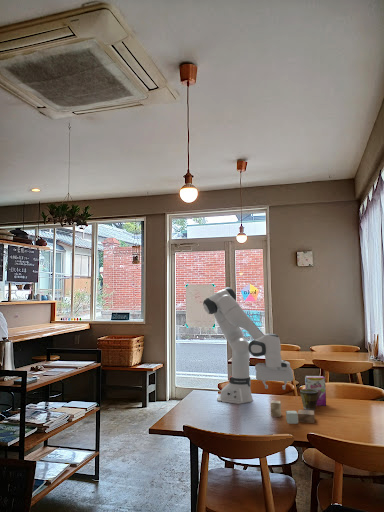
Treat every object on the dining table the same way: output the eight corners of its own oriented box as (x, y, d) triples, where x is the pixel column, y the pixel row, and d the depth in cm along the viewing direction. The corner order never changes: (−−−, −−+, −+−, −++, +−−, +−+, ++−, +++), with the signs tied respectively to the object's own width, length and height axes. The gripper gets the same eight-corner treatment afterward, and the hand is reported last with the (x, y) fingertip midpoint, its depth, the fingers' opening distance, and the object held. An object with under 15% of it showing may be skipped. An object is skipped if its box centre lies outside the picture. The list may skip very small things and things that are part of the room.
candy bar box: (307, 405, 226) (306, 377, 228) (305, 403, 231) (304, 375, 233) (326, 406, 225) (325, 377, 227) (324, 403, 230) (323, 375, 232)
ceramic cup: (304, 405, 227) (303, 388, 228) (321, 408, 221) (320, 390, 223) (296, 410, 217) (295, 392, 218) (314, 413, 211) (313, 394, 212)
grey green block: (288, 423, 194) (287, 413, 195) (286, 420, 199) (285, 410, 200) (298, 423, 194) (297, 413, 195) (296, 420, 199) (295, 410, 200)
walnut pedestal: (298, 421, 197) (297, 413, 197) (298, 417, 204) (298, 409, 205) (314, 423, 194) (314, 414, 195) (314, 418, 202) (314, 410, 202)
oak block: (271, 416, 207) (270, 402, 208) (272, 413, 212) (271, 400, 213) (280, 416, 206) (279, 403, 207) (281, 414, 210) (280, 401, 211)
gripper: (254, 363, 212) (255, 389, 211) (291, 364, 206) (293, 391, 204) (255, 362, 218) (257, 387, 216) (292, 362, 212) (294, 388, 210)
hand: (275, 389), depth 210 cm, fingers open, 8 cm apart
